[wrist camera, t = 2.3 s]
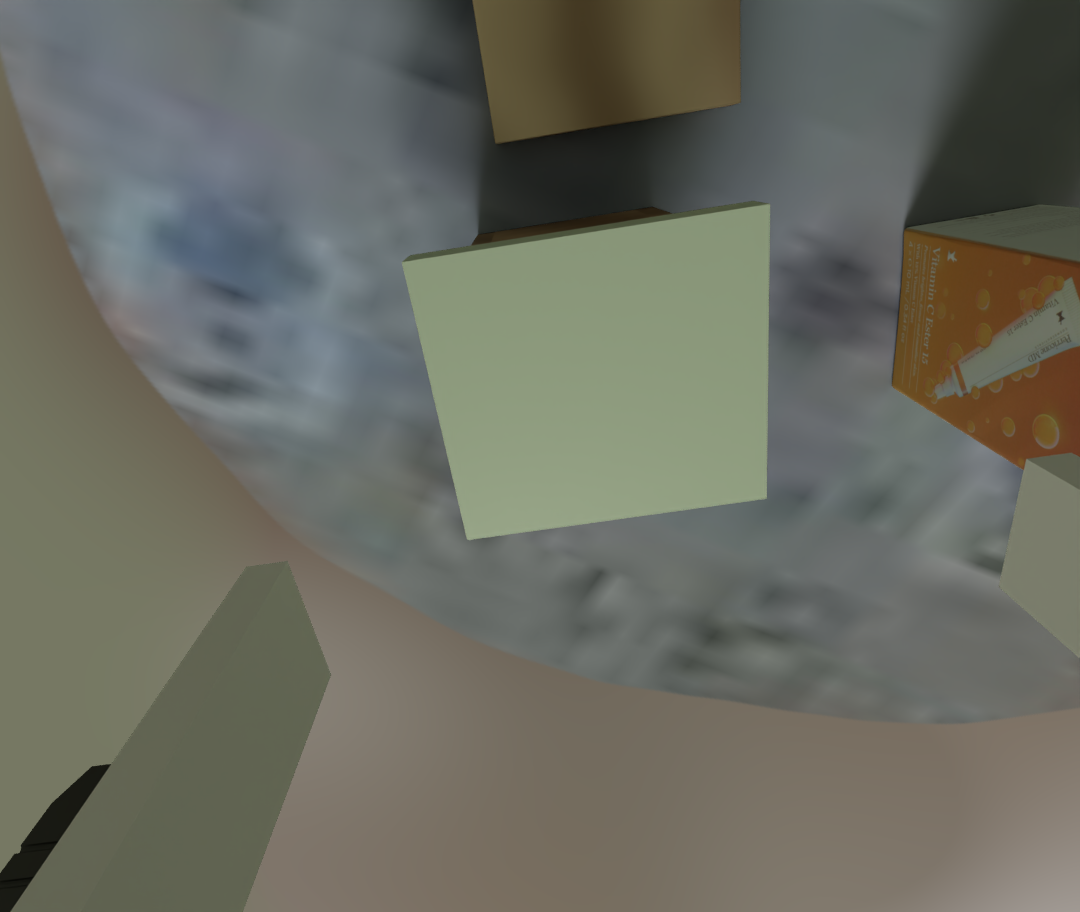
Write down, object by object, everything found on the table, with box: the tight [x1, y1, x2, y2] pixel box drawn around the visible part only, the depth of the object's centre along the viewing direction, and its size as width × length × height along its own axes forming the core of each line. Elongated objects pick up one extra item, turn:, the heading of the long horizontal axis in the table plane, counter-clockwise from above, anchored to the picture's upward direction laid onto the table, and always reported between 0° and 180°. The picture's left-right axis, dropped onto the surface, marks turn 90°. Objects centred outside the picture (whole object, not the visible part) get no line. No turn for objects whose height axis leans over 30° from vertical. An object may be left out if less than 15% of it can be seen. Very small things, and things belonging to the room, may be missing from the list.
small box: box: [892, 205, 1080, 470], centre depth 24 cm, size 8×6×13 cm
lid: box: [402, 201, 770, 540], centre depth 22 cm, size 11×10×3 cm
